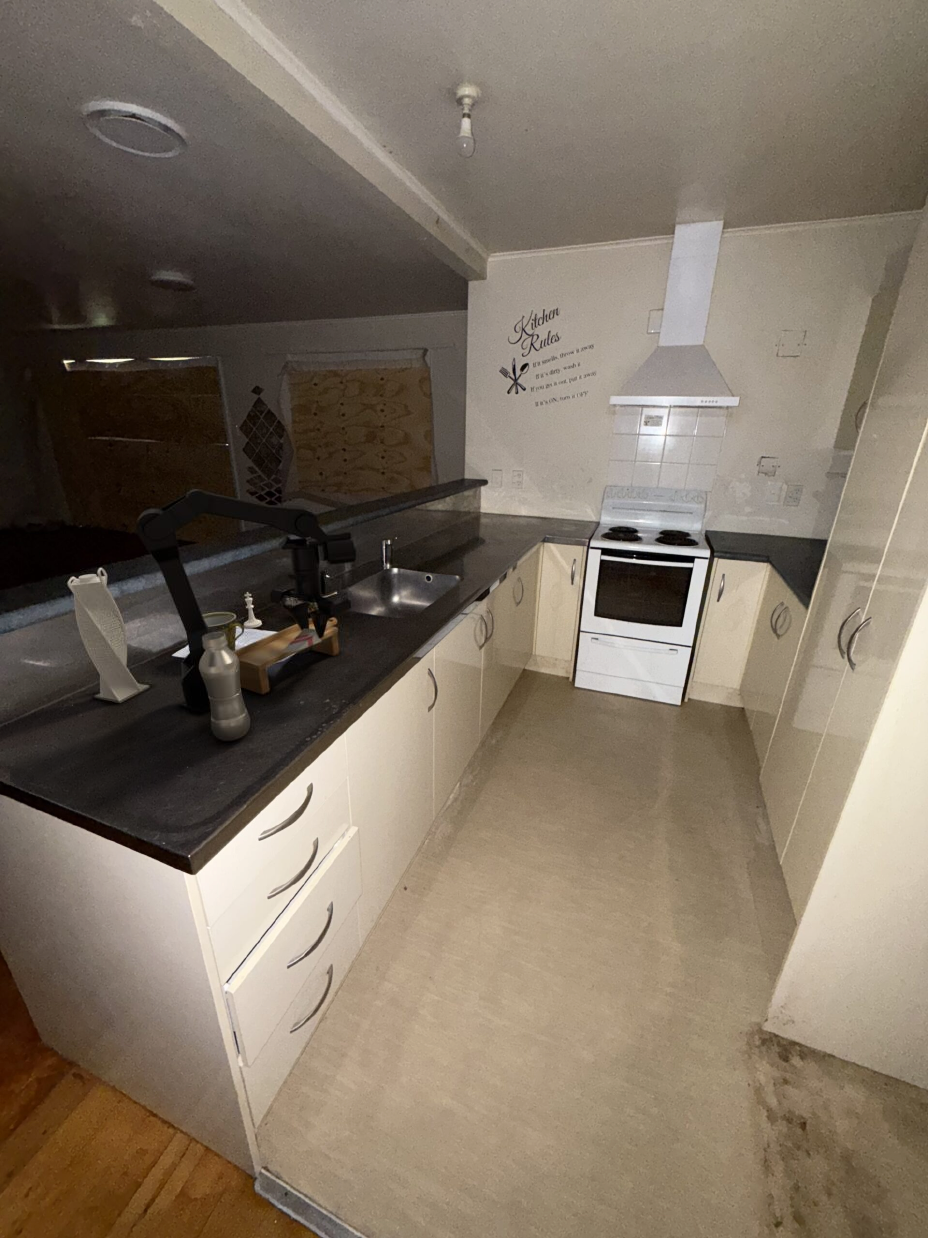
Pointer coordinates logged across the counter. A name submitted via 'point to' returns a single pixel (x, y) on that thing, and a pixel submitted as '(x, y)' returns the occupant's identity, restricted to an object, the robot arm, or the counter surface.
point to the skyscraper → (104, 636)
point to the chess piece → (251, 614)
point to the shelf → (276, 655)
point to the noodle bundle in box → (307, 637)
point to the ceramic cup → (224, 626)
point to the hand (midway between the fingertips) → (313, 635)
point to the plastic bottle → (223, 688)
